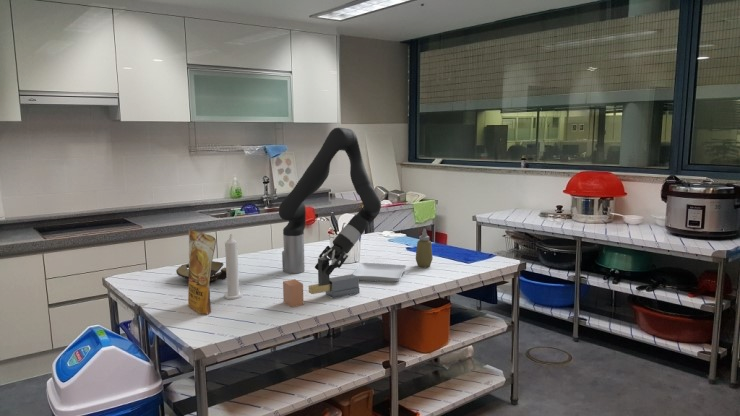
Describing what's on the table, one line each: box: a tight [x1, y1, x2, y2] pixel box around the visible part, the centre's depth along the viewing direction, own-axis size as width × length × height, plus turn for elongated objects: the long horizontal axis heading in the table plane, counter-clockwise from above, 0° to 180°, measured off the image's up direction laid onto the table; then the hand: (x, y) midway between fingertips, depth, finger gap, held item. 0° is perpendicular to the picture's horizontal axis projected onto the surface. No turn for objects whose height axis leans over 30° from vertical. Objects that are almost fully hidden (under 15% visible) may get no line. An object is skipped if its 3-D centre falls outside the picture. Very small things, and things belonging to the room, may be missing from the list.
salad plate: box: [352, 262, 407, 283], centre depth 234 cm, size 21×21×3 cm
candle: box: [223, 233, 244, 300], centre depth 205 cm, size 7×7×25 cm
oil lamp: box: [175, 260, 227, 282], centre depth 228 cm, size 22×30×8 cm
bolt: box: [308, 257, 331, 295], centre depth 206 cm, size 20×3×13 cm, turn 122°
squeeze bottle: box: [415, 228, 433, 268], centre depth 249 cm, size 8×8×18 cm
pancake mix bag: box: [187, 229, 217, 315], centre depth 191 cm, size 7×19×28 cm, turn 39°
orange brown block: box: [282, 278, 305, 308], centre depth 198 cm, size 5×7×8 cm
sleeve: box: [325, 273, 361, 299], centre depth 209 cm, size 12×6×6 cm, turn 122°
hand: (321, 271), depth 203 cm, fingers open, 8 cm apart
